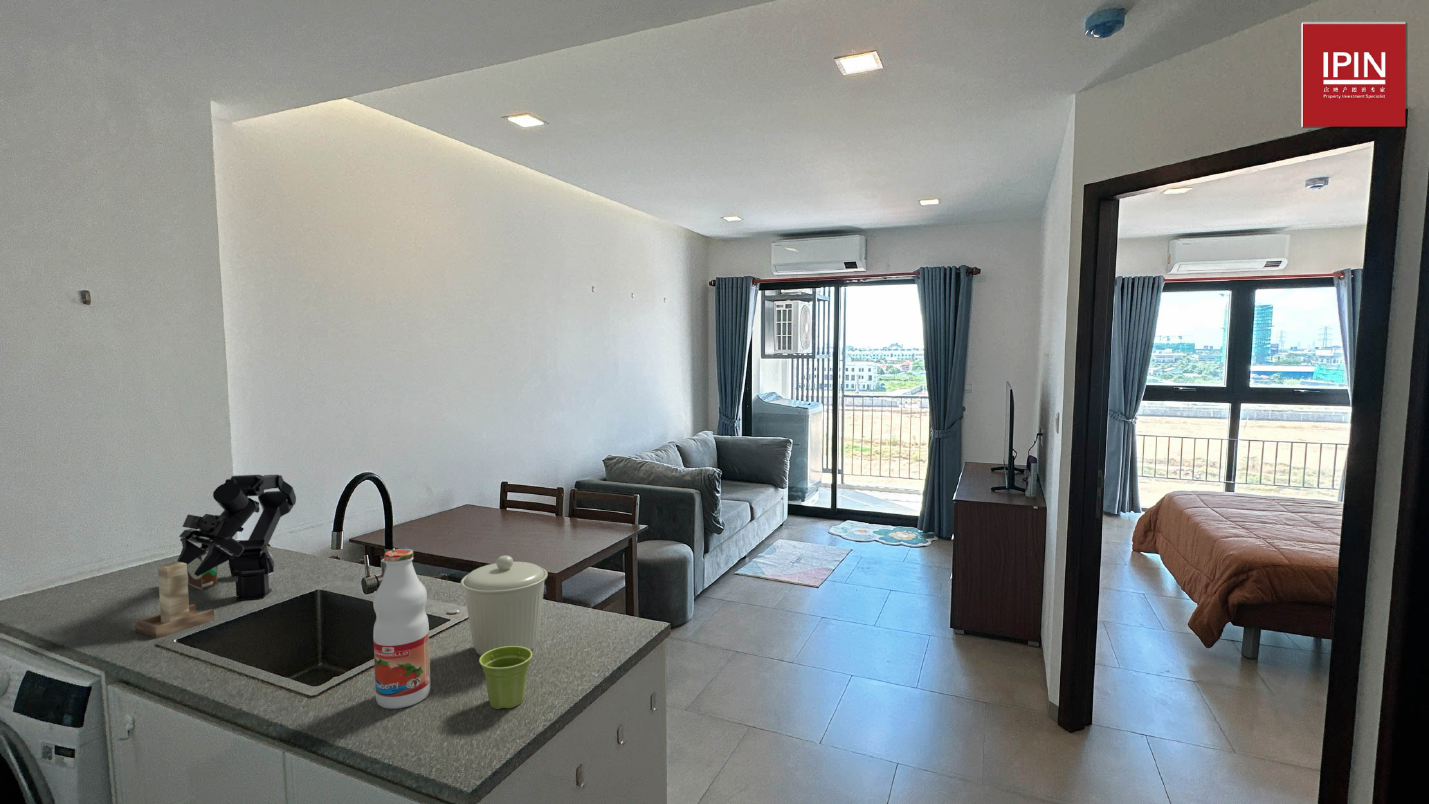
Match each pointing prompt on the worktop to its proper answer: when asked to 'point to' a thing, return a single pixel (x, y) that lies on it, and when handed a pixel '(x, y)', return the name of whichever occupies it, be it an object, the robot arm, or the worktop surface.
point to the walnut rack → (172, 623)
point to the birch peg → (173, 591)
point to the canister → (504, 604)
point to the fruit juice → (401, 634)
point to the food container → (204, 579)
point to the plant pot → (506, 675)
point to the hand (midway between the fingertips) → (185, 572)
